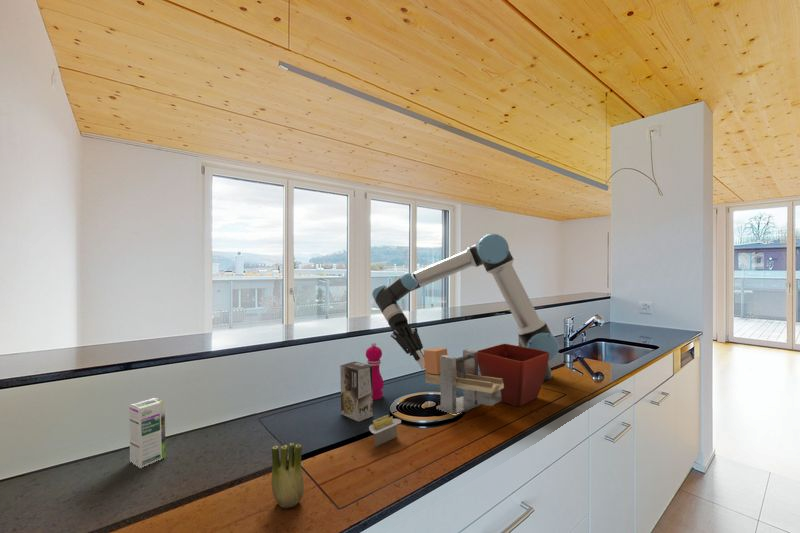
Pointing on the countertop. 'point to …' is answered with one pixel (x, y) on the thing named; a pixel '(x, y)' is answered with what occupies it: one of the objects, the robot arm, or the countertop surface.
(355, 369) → the coffee box
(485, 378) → the beam
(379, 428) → the platform
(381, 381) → the pepper mill
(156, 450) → the syrup box
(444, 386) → the pivot stand
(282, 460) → the fennel bulb
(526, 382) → the plant pot
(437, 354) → the rider
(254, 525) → the countertop surface
